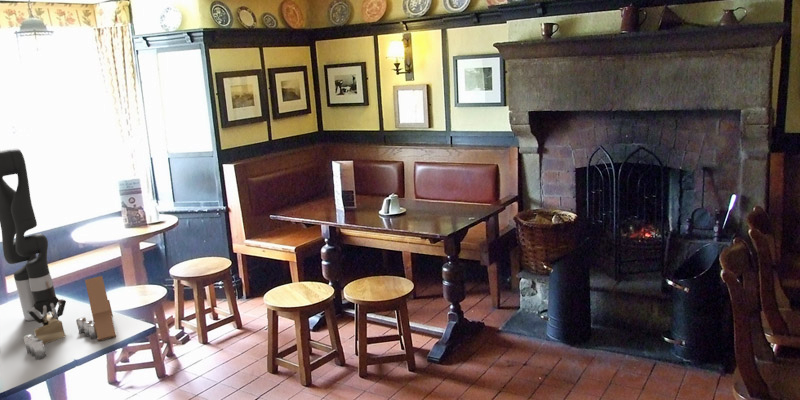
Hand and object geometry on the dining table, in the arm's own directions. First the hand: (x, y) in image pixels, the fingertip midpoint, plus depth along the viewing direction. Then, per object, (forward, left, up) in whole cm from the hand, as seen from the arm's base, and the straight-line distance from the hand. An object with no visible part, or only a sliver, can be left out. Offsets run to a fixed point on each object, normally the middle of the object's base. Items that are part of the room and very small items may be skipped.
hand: (52, 329), depth 248 cm
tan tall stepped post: (+13, +14, -2) cm, 19 cm away
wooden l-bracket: (+1, -3, -2) cm, 4 cm away
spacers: (+15, -2, -2) cm, 15 cm away
